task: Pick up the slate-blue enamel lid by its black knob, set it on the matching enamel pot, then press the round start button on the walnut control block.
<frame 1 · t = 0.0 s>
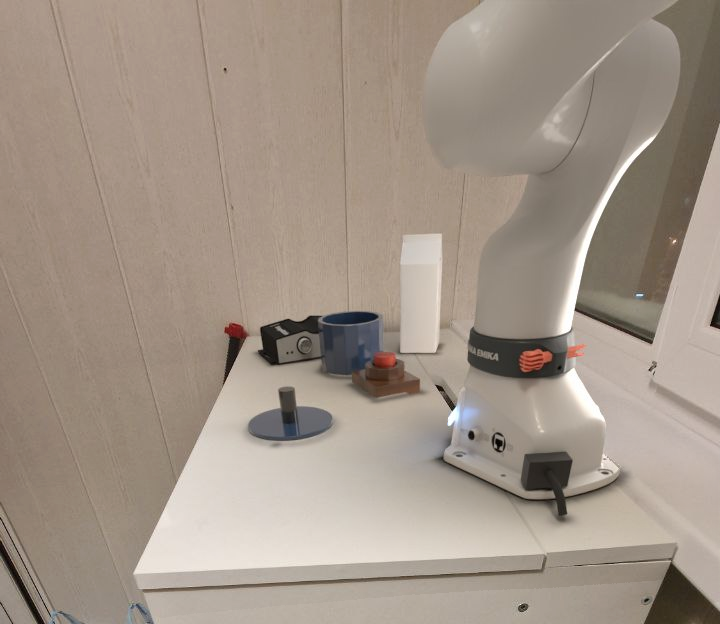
start button: (384, 360, 92), point 4 cm above the table, slide at 0.1 cm
milk carton: (419, 350, 113), on the table
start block: (385, 388, 95), on the table
lid: (290, 424, 83), point 1 cm above the table
electronic device: (311, 353, 115), on the table
pot: (353, 368, 105), on the table
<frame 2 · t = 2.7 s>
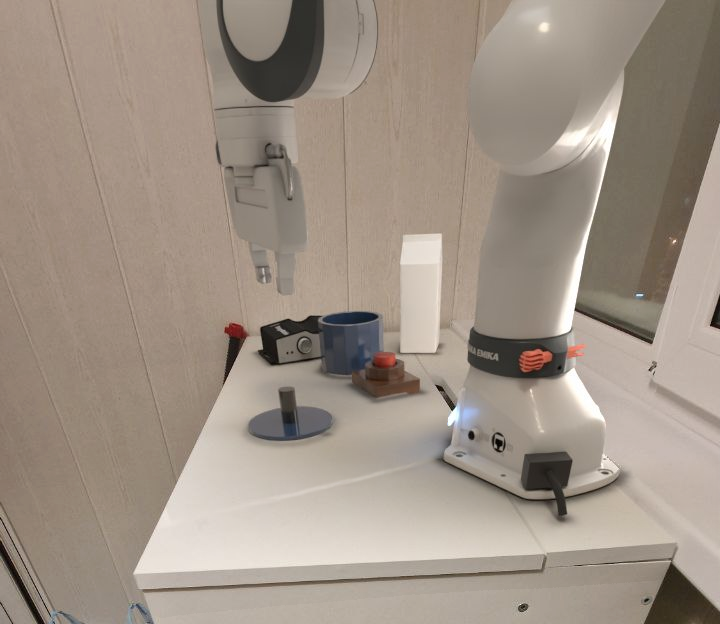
hand: (274, 288, 72), 18 cm above the table, tool pointing down, fingers open, 8 cm apart
nothing on the table moved.
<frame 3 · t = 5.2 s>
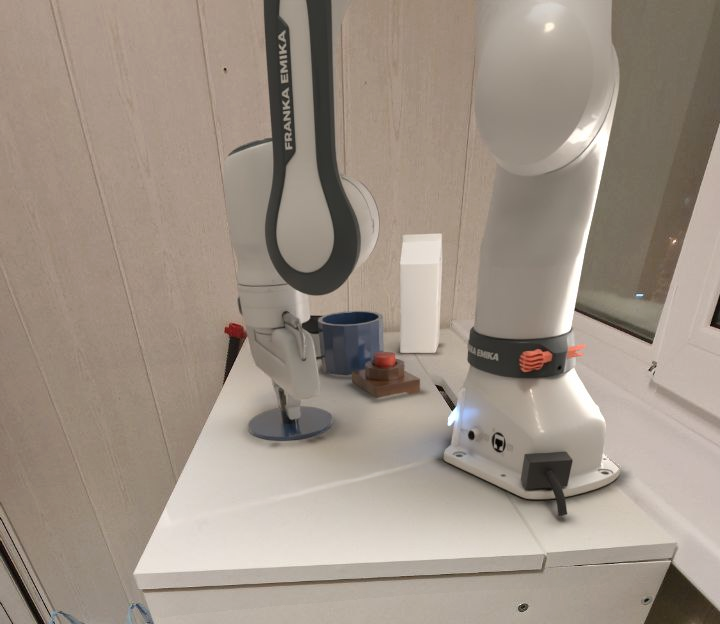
hand: (289, 413, 82), 2 cm above the table, tool pointing down, fingers closed on lid, 2 cm apart
lid: (290, 424, 83), point 1 cm above the table, touching gripper
everything else where it was.
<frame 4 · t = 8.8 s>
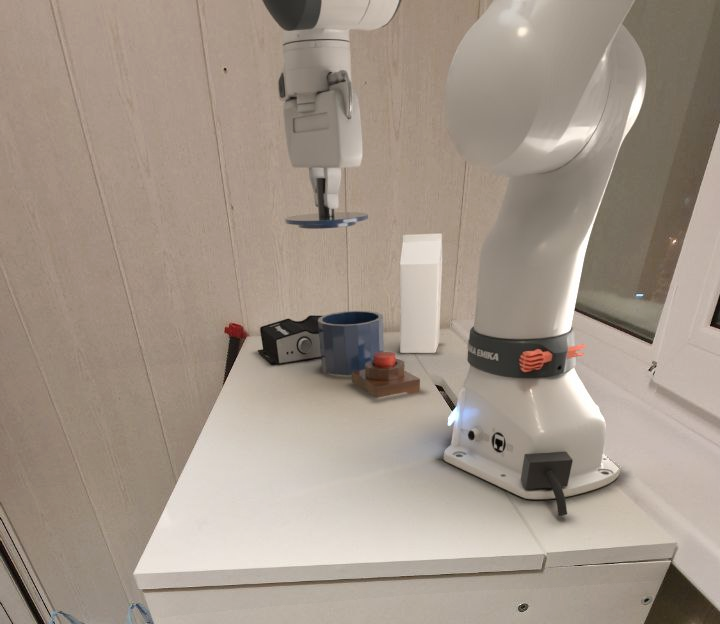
hand: (326, 207, 83), 25 cm above the table, tool pointing down, fingers closed on lid, 2 cm apart
lid: (326, 220, 84), point 23 cm above the table, touching gripper
everything else where it was.
when the fingers open (10 cm above the table, at t = 12.8 s): lid stays where it is, resting on pot.
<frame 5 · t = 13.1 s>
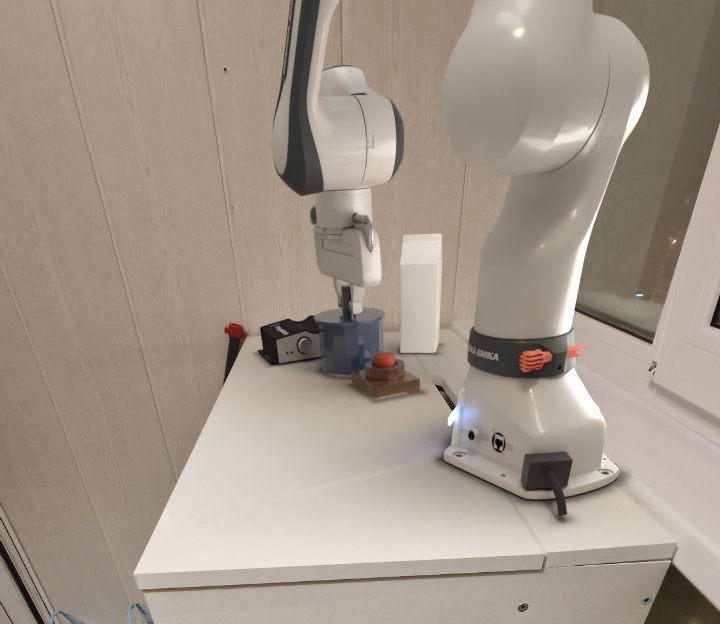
hand: (349, 310, 98), 10 cm above the table, tool pointing down, fingers open, 4 cm apart
lid: (349, 318, 99), point 8 cm above the table, touching pot
everything else where it was.
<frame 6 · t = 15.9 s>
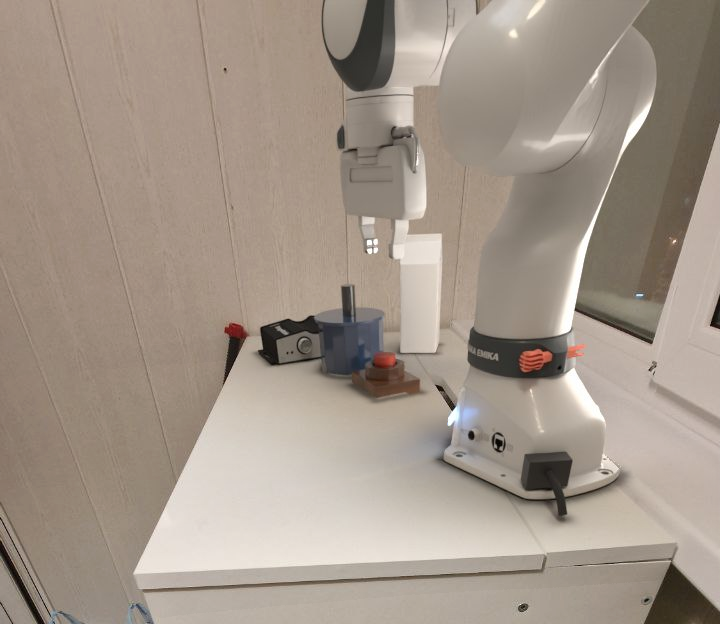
hand: (383, 255, 82), 19 cm above the table, tool pointing down, fingers open, 7 cm apart
nothing on the table moved.
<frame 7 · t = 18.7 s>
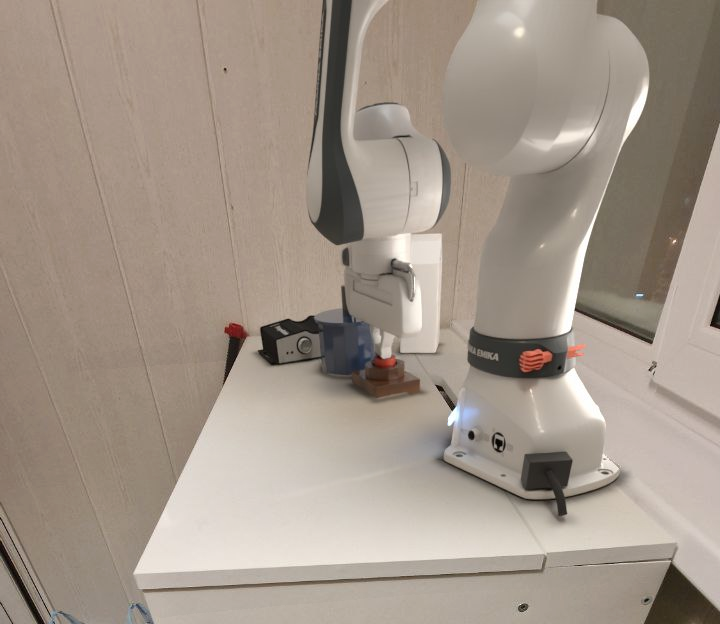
hand: (382, 356, 92), 5 cm above the table, tool pointing down, fingers closed, pressing on start button
start button: (384, 362, 92), point 4 cm above the table, slide at -0.2 cm, touching gripper
everything else where it was.
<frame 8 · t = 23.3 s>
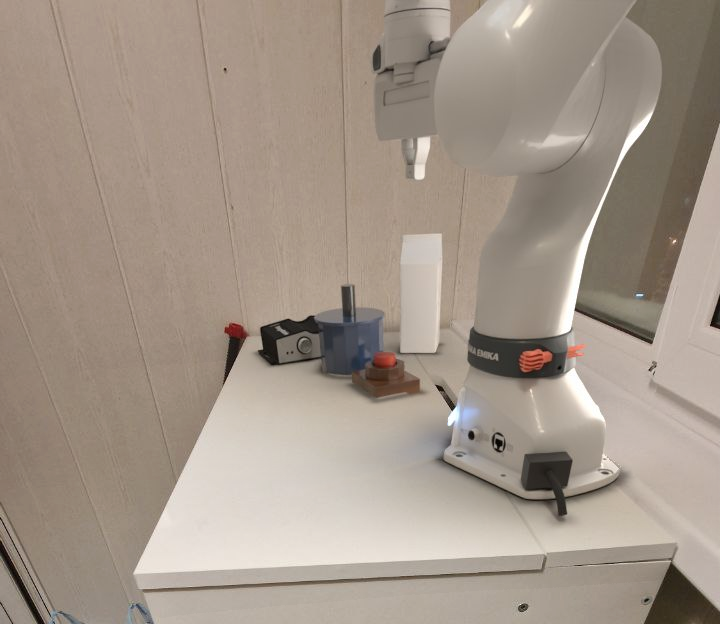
hand: (415, 179, 84), 27 cm above the table, tool pointing down, fingers closed
start button: (384, 360, 92), point 4 cm above the table, slide at 0.1 cm
everything else where it was.
at the end: lid 0.2 cm off-centre on the pot, point 8.5 cm above the pot's base; start button pushed in 1.1 cm at the most during the clip, back to where it started at the end; start button slide at 0.1 cm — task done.
